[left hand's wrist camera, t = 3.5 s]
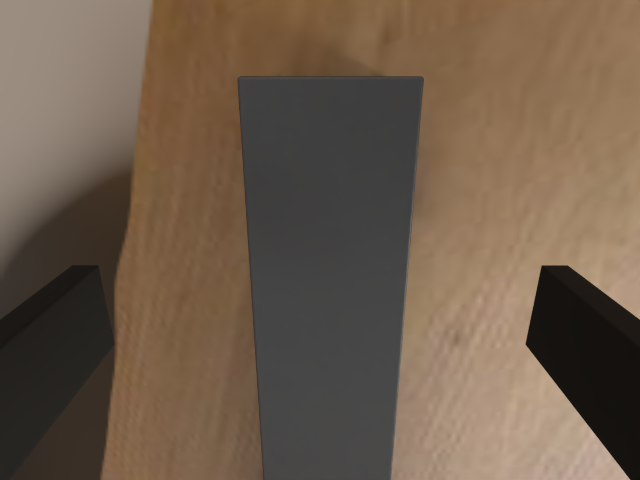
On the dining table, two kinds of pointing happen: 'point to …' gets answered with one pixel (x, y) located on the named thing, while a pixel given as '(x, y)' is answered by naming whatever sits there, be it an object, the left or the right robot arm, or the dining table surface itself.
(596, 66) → the dining table surface
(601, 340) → the left robot arm
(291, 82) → the post
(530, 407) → the dining table surface
